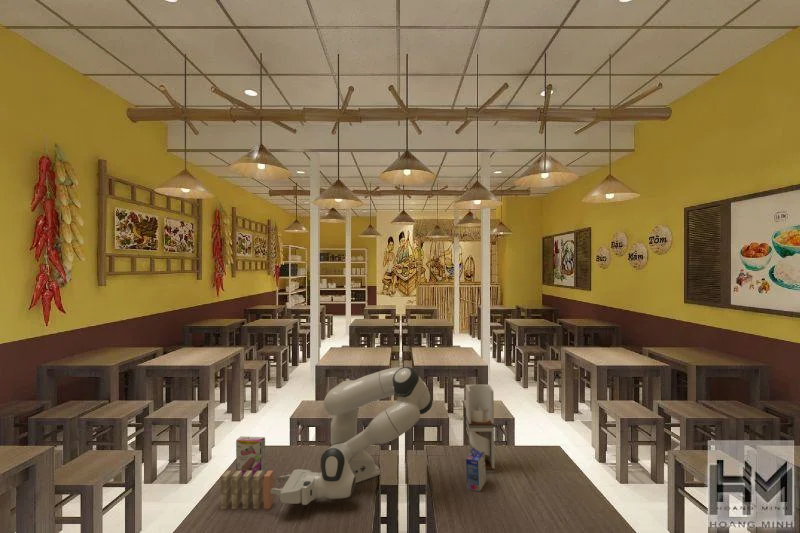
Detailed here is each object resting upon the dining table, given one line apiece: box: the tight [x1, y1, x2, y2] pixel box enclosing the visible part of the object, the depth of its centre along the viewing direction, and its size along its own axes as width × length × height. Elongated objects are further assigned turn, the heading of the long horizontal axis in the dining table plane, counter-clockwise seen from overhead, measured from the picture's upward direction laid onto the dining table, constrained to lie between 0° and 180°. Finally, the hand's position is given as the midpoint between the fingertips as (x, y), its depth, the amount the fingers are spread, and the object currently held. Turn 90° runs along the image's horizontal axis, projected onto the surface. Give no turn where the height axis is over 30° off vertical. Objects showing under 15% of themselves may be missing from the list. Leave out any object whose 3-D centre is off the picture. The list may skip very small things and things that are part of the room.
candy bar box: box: [235, 435, 266, 480], centre depth 203 cm, size 11×5×16 cm, turn 84°
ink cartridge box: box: [465, 448, 487, 492], centre depth 192 cm, size 10×6×14 cm, turn 155°
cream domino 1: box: [220, 470, 232, 510], centre depth 179 cm, size 2×5×12 cm, turn 178°
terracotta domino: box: [263, 470, 275, 510], centre depth 178 cm, size 2×5×12 cm, turn 178°
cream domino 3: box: [242, 471, 253, 510], centre depth 178 cm, size 2×5×12 cm, turn 178°
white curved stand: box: [465, 384, 496, 474], centre depth 209 cm, size 11×11×35 cm
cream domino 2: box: [231, 470, 243, 510], centre depth 179 cm, size 2×5×12 cm, turn 178°
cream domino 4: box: [252, 471, 264, 510], centre depth 178 cm, size 2×5×12 cm, turn 178°
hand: (274, 484), depth 178 cm, fingers open, 8 cm apart
